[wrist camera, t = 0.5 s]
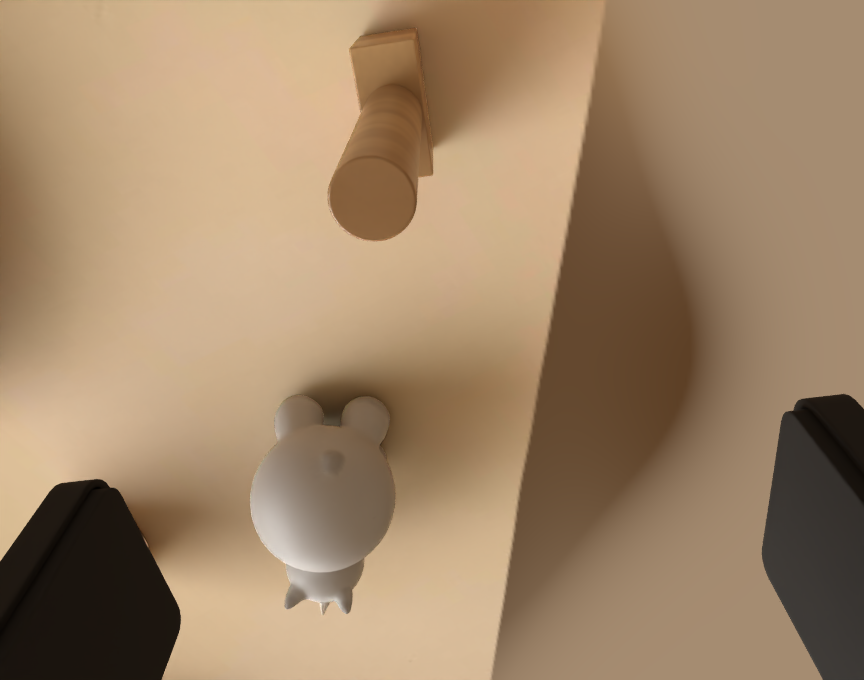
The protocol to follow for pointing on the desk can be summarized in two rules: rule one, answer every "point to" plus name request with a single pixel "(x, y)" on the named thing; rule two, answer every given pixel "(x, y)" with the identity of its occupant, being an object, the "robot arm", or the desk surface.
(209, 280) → the desk surface
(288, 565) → the chubby cartoon animal
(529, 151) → the desk surface
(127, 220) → the desk surface
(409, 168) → the wooden stamp
